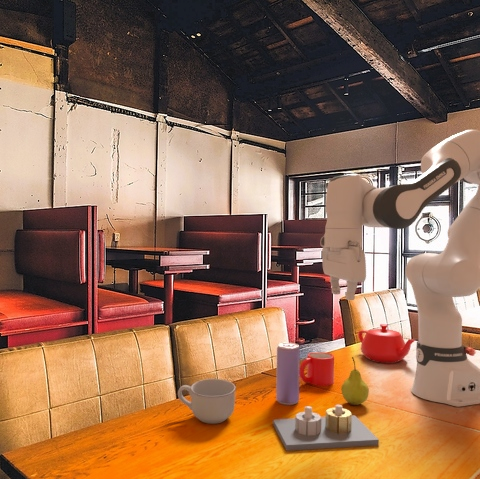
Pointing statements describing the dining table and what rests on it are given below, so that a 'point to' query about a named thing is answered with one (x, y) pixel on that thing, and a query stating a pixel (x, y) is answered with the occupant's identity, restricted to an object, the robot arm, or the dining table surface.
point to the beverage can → (287, 373)
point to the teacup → (210, 399)
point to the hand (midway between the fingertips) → (342, 296)
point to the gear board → (320, 432)
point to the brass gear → (338, 421)
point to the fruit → (355, 388)
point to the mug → (318, 369)
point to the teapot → (384, 345)
